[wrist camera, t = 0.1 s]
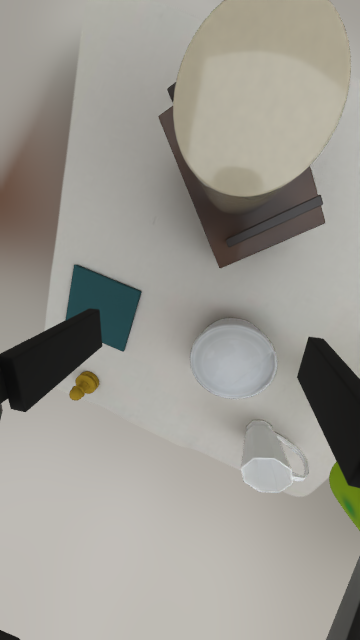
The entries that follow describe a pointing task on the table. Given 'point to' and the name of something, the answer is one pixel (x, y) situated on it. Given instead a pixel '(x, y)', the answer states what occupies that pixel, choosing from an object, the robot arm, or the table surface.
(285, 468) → the cup
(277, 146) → the cream cylinder
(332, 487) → the mushroom
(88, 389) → the chess piece
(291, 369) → the table surface
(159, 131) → the table surface
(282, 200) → the holder
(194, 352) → the ramekin
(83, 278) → the mat
